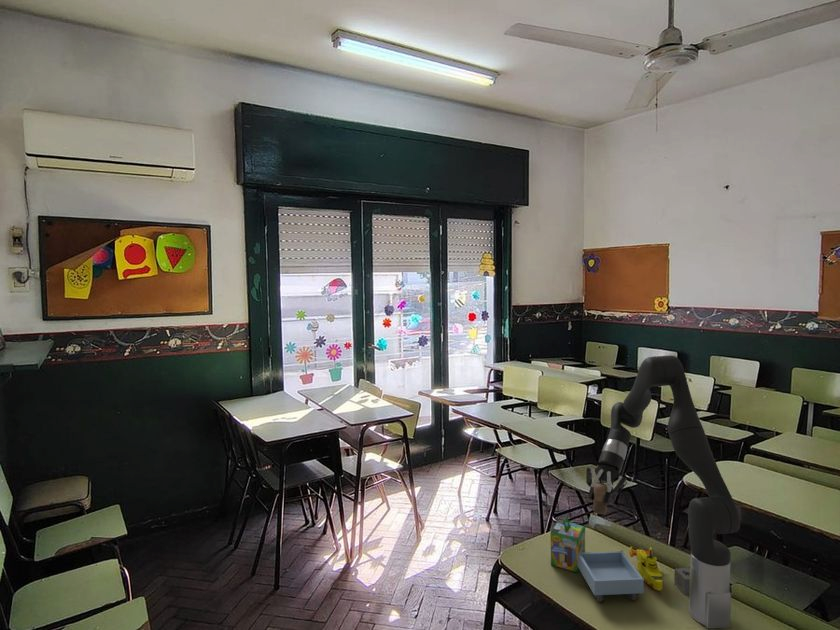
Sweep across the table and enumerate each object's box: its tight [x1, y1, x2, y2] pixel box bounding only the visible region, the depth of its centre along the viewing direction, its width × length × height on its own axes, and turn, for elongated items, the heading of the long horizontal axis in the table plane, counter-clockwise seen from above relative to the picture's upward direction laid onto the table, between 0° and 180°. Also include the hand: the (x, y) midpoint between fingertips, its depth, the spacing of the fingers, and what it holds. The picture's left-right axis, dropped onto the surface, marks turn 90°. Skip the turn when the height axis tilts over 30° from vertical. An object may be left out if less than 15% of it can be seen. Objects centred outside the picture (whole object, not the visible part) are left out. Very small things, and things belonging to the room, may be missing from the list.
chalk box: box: [550, 514, 586, 574], centre depth 160 cm, size 9×9×15 cm
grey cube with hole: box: [673, 567, 690, 596], centre depth 146 cm, size 5×5×5 cm
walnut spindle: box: [593, 483, 608, 515], centre depth 166 cm, size 4×4×9 cm
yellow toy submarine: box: [629, 546, 664, 591], centre depth 151 cm, size 6×18×10 cm, turn 174°
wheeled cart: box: [577, 550, 645, 603], centre depth 147 cm, size 14×14×7 cm
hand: (597, 501), depth 164 cm, fingers closed on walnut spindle, 4 cm apart
